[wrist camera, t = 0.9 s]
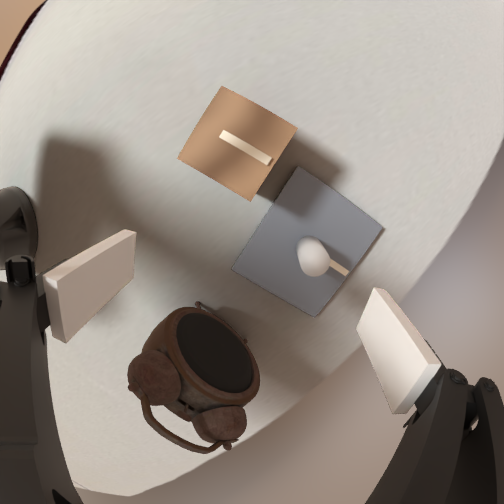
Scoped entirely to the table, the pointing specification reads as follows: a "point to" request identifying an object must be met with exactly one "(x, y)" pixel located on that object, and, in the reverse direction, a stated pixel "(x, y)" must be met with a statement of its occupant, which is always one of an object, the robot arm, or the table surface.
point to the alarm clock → (196, 377)
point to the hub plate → (295, 223)
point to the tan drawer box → (236, 142)
